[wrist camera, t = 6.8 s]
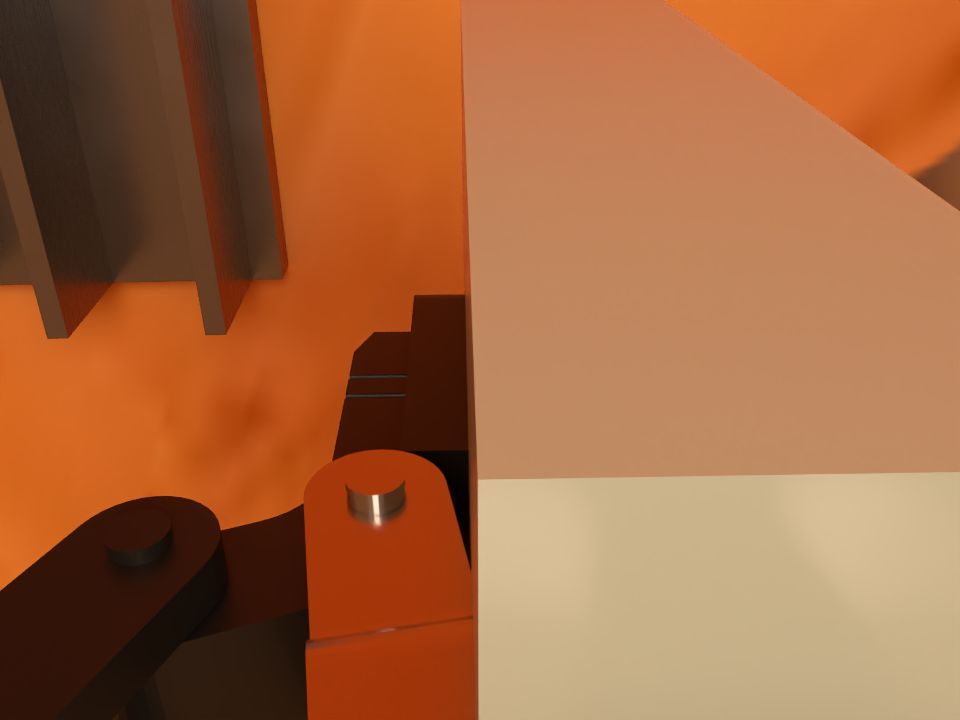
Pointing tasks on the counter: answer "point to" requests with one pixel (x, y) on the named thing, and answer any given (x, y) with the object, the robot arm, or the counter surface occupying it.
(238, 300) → the dish rack
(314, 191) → the counter surface
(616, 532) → the tall cream pillar
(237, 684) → the robot arm
